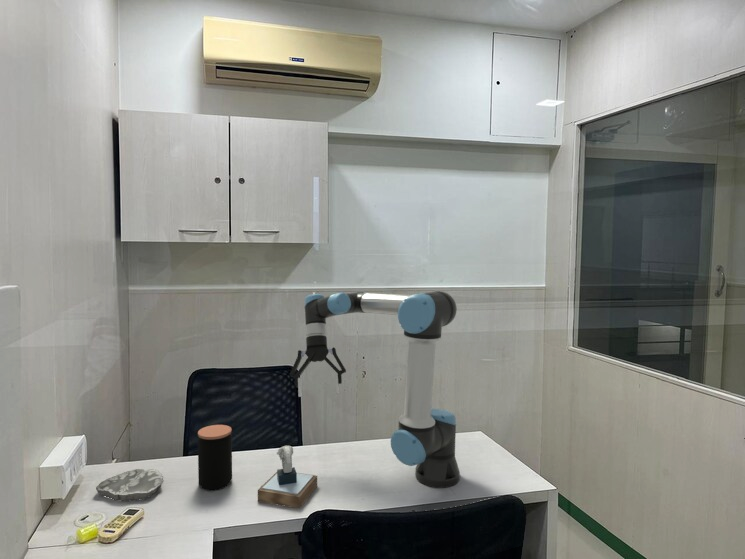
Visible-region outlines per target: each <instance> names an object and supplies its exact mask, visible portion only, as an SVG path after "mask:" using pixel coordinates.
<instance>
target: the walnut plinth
mask: <svg viewBox="0 0 745 559" xmlns="http://www.w3.org/2000/svg"><path fill="white" fill-rule="evenodd" d="M296 473H297V483H291V484H285V485H279V483H278V480H277V471H276V472H275V473H273V474H272V476H271V477H270V478H269V479H268V480H266V481H265V482H264V483H263V484H262V485H261V486H260V487H259V488H257V502H259V503H264V504H271V505H276V504H278V505H277V506H282V505H285V506H284V507H288V506H291V507H290V508H293V507H296V508H295V509H301V507H302V506H303V505H304V504H305V502H306V501H307V500H308V499H309V497H310V496H311V495H312V494H313V492H314V491H315V490H316V489H317V487H318V475H314V474H308V473H301V472H296ZM307 498H308V499H307ZM306 499H307V500H306ZM302 504H303V505H302Z"/></svg>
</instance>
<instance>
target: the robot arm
mask: <svg viewBox="0 0 745 559" xmlns="http://www.w3.org/2000/svg"><path fill="white" fill-rule="evenodd" d="M457 309H458V308H457V304H456V301H455V299H454V298H453V296H452V295H451V294H449V293H447V292H445V291H439V290H438V291H428V292H418V293H415V294H395V293H377V292H376V293H372V292H366V291H357V292H351V293H344V292H337V293H333V294H331V295H328V296H326V297H325V296H324V295H323V294H320V293H319V294H318V293H317V294H316V293H315V294H314V293H313V294H308V295H307V296H306V297H305V298H304V318H305V336H306V338H305V340H306V341H305V342H306V343H305V344H306V350H300V349H299V350H298V351H297V356H296V359H295V361H294V364H293V366H292V368H291V370H290V373H289V377H291V378H294V386H295V388H298V390H297V393H298V398H300V397H303V394H302V392H303V390H302V378H301V375H302V374H304V373H303V372H305V370H306V369H307V367H308V366H309V365H310V364H311V362H312V363H317V362H320V363H321V362H323V361H325V362H326V363H327V364H328V366H330V368H331V369H332V370H333V371H335V372H336V374H335V388H336V389H335V390H336V394H338V395H339V394H340V385H342V383H343V378H342V375H343V374H344V373H347V370H346V368H345V366H344V365H343V362H342V361H341V359H340V358H339V356H338V354H337V350H336V348H335V347H332V348H328V340H327V339H328V338H327V321H326V319H328V318H332V317H335V316H336V317H337V316H340V315H347V314H353V313H360V314H361V313H362V314H364V313H366V314H377V315H387V316H388V315H390V316H397V320H398V323H399V324H400V327H401V329H403V336H404V337H405V338H406V340H407V356H406V358H407V359H406V371H405V372H406V375H405V389H404V390H405V392H404V406H403V407H404V408H403V413H402V414H401V415H400V416H399V417H398V426H397V427H398V429H397V430H395V431H394V432H393V434H392V435H391V438H390V448H391V450H392V452H393V453H392V454H394V455H395V457H396V459H397V460H398V461H399V462H400V463H402V464H403V465H406V466H408V467H410V466H411V467H412V466H413V467H414V466H416V467H415V478H416V480H417V481H418V482H419V483H421V484H423V485H425V486H428V487H432V488H448V487H453V486H456V485H457V484H458V483H459V482H460V478H461V475H460V474H461V472H460V468H459V465H458V461H457V458H456V437H457V436H456V434H457V430H456V428H457V423H456V422H457V421H456V418H457V417H456V415H455V414H454V413H453V412H451V411H448V410H445V409H439V408H432V405H433V390H434V389H433V387H434V377H435V376H434V373H435V361H436V360H435V359H436V345H437V344H436V343H437V342H438V341H440V339H442V329H443V328H444V327H445V326H448V325H450V323H452V322H453V321H454V319H455V318H456V316H457V311H458V310H457ZM329 353H330V354H331V355H332V356H333V358H334V359H335V360H336V363H337V364H338V366H339V367H340V369H339V368H338V367H337V366H335V364H334V363H333V362H332V361H331V360H330V359H329V358H328V357H327V356H328V355H329ZM305 355H306V357H307V358H306V360H305V361H304V362H303V364H302V365H301V366H300V368H299V365H300V363H301V361H302V358H303V357H304V356H305ZM298 368H299V369H298Z"/></svg>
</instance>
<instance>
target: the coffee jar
mask: <svg viewBox="0 0 745 559" xmlns="http://www.w3.org/2000/svg"><path fill="white" fill-rule="evenodd" d="M232 431H233V430H232V427H231V426H229V425H226V424H213V425H208V426H205V427H204V426H203V427H202V428H200V429H199V430H198V431H197V437H198V438H197V457H198V458H197V464H198V465H197V466H198V467H197V469H198V470H197V472H198V474H197V475H198V485H199V487H200V488H201V489H202V490H204V491H218V490H222V489H225V488H226V487H228V486H229V485H230V483H231V482H232V479H233V447H232V446H233V437H232Z"/></svg>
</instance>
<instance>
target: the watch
mask: <svg viewBox="0 0 745 559" xmlns="http://www.w3.org/2000/svg"><path fill="white" fill-rule="evenodd" d="M293 454H294V448H293V446H291V445H284V446H281V447H280V448H278V450H277V452H276V455H278V457H279V459H280V460H281V466H282V468H280V469H279V468H278V469H277V470H276V472H277V480H278V483H279V485H285V484H291V483H297V473H298V472H297V469H296V468H295V467H293V459H292V456H293Z"/></svg>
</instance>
